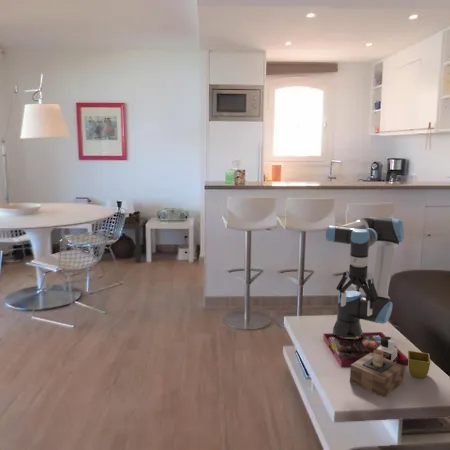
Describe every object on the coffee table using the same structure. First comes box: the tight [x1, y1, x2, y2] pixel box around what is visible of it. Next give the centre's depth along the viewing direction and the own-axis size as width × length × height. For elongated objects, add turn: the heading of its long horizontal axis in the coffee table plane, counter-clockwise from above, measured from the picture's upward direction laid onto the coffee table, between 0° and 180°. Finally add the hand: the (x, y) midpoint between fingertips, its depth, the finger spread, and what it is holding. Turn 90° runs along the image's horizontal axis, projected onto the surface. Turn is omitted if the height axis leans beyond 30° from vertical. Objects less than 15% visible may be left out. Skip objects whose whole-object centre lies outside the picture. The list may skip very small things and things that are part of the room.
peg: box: [372, 348, 383, 369], centre depth 195 cm, size 4×4×8 cm
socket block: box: [349, 352, 405, 398], centre depth 196 cm, size 16×16×8 cm
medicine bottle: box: [376, 336, 399, 361], centre depth 212 cm, size 7×7×12 cm
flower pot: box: [407, 350, 431, 379], centre depth 202 cm, size 9×9×9 cm
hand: (356, 310), depth 203 cm, fingers open, 13 cm apart
